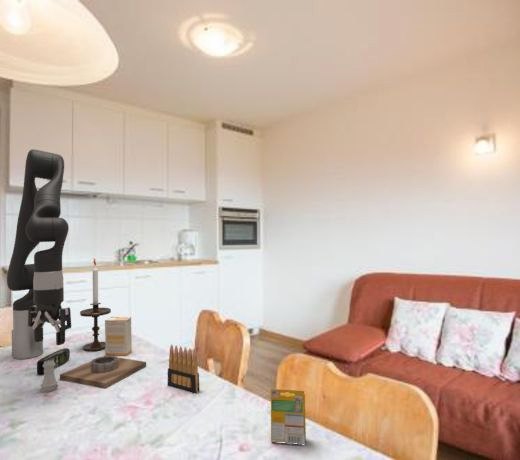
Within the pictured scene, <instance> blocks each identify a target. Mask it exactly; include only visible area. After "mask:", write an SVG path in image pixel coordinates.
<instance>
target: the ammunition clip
mask: <svg viewBox="0 0 520 460" xmlns="http://www.w3.org/2000/svg"><path fill="white" fill-rule="evenodd" d="M169 347H170V348H169V355H168V356H169V357H168V368H167V385H166V386H168V387H171V388H174V389H178V390H181V391H184V392H189V393H191V392H192V393H191V394H194V393H195V394H197V393H198V392H200V373H199V370H198V369H199V368H198V354H197V350H196V349H193V352H192V349H191V348H189V349H188V348H187V347H184V348H182V346H179V349H178V345H175V347H174V346H173V344H170V346H169Z"/></svg>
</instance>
